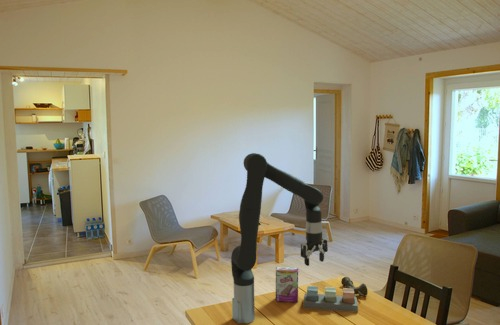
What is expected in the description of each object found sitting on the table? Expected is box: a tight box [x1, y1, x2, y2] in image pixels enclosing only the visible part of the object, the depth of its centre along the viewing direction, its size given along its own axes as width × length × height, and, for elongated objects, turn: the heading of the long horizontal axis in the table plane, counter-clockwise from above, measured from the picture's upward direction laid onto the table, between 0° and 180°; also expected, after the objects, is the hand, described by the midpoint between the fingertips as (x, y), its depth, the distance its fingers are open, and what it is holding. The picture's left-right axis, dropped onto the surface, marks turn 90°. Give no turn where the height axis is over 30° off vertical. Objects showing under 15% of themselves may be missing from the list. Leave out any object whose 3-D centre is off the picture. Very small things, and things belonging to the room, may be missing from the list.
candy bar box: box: [275, 266, 299, 303], centre depth 199 cm, size 11×5×16 cm, turn 84°
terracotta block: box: [342, 287, 355, 303], centre depth 191 cm, size 5×5×5 cm
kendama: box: [341, 276, 369, 297], centre depth 207 cm, size 6×10×20 cm
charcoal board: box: [303, 292, 359, 313], centre depth 193 cm, size 10×25×3 cm, turn 79°
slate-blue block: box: [306, 285, 319, 301], centre depth 195 cm, size 5×5×5 cm
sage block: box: [324, 286, 337, 302], centre depth 193 cm, size 5×5×5 cm
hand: (314, 263), depth 189 cm, fingers open, 8 cm apart
